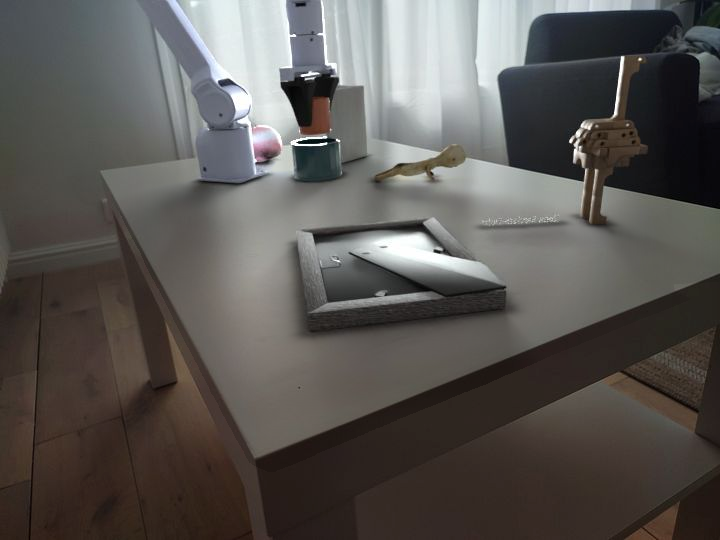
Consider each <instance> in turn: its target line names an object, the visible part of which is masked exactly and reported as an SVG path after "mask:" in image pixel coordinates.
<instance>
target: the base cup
mask: <svg viewBox="0 0 720 540" xmlns="http://www.w3.org/2000/svg"><path fill="white" fill-rule="evenodd" d="M290 144H291V155H292V165H293V173H294V179H295V180H297V181H301V182H313V183H314V182H325V181H326V182H327V181H331V180H336V179H338V178H340V177H342V175H343V167H342V163H341V151H340V140H339V139H337V138H331V137H326V136H323V137H319V136H318V137H306V138H300V139H296V140H293V141H291V142H290Z"/></svg>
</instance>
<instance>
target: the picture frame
mask: <svg viewBox="0 0 720 540" xmlns="http://www.w3.org/2000/svg"><path fill="white" fill-rule="evenodd" d="M295 233H296V234H295V235H296V243H297V251H298V259H299V265H300V274H301V281H302V288H303V295H304V302H305V309H306V317H307V324H308V332H309V333H311V332H319V331H327V330H334V329H345V328H353V327H360V326H368V325H376V324H387V323H393V322H403V321H410V320H411V321H412V320H418V319H428V318H436V317H443V316H445V317H446V316H452V315H460V314H469V313H476V312H477V313H479V312H485V311H494V310H502V309H504V310H505V309H506V304H507V285H506V284H505V283H504V282H503V280H501V279H500V278H499V276H497V275H496V274H495V273H494V272H493V271H492V270H491V269H490V268H489V267H488V266H487V265H486V264H485V263H484V262H480V261H478V260H476V259H475V258H474V257H473V255H471V253H470V252H469V251H468V250H466V248H465V247H463V246H462V244H460V242H459V241H457V239H456V238H454V236H453V235H452V234H451V233H450V232H449V231H448V230H447V229H446V228H445V227H444V226H443V225H442V224H441V223H440V222H439V221H438V220H437V219H436V218H435V217H434V216H429V217H428V216H427V217H418V218H409V219H408V218H407V219H398V220H397V219H396V220H387V221H376V222H367V223H354V224H345V225H335V226H323V227H314V228H313V227H312V228H304V229H296V230H295Z"/></svg>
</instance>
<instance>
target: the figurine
mask: <svg viewBox="0 0 720 540" xmlns="http://www.w3.org/2000/svg"><path fill="white" fill-rule="evenodd" d="M466 159H467V154H466V150H465V149H464V148H463V146H461V145H459V144H456V143H455V144H450V145H449V146H447V147H446V148H444V149H443V150H442V151H441V152H440V153H439V154H438V155H436V156H435V157H429V158H425V159H422V160H419V161H413V162H398V163H396V164H395V165H394V166H393V167H391V168H389V169H386V170H384V171H382V172H379V173H376V174H375V175H374V176H373V177H374V182H380V181H384V180H387V179H390V178H394V177H396V176H403V177H413V176H419V175H422V174H426V176H427V177H428V179H429V181H430V182H434V181H435V177H434V176H435V173H434V172H433V171H432V170H434V169H436V168H439V167H442V168H446V169H448V168H450V169H452V168H455V167H458V166H460V165H462V164H464V163H465V162H466Z"/></svg>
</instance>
